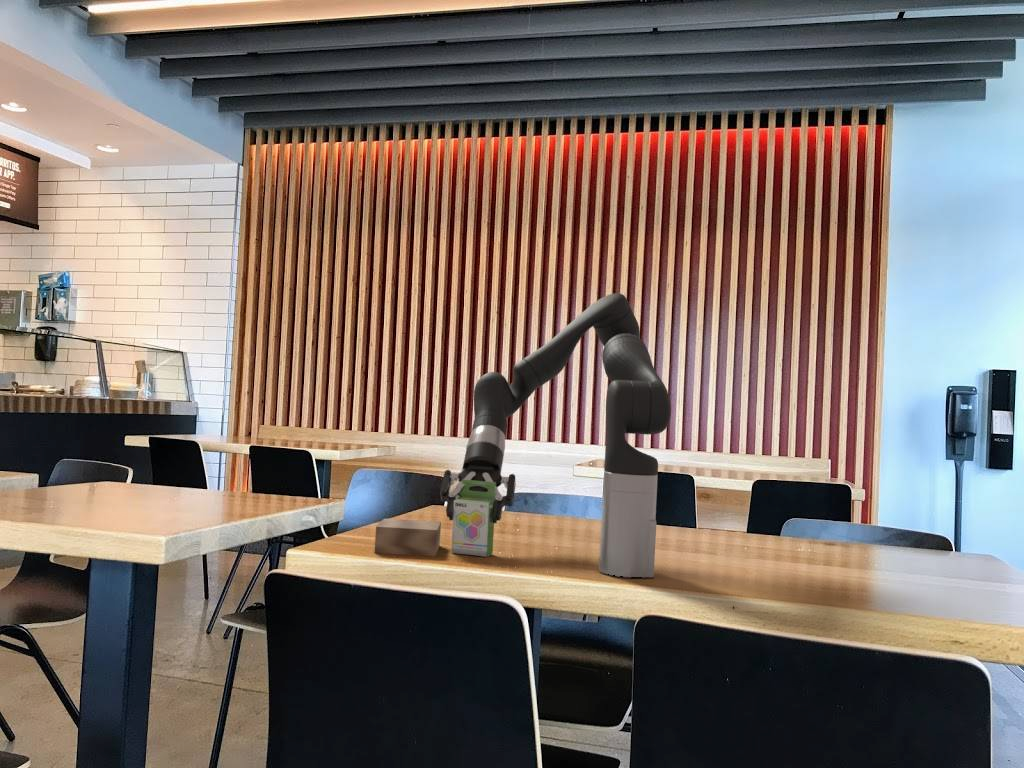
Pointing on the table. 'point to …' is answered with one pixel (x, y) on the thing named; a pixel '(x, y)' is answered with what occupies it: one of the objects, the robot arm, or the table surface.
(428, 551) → the walnut block
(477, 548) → the ink box
